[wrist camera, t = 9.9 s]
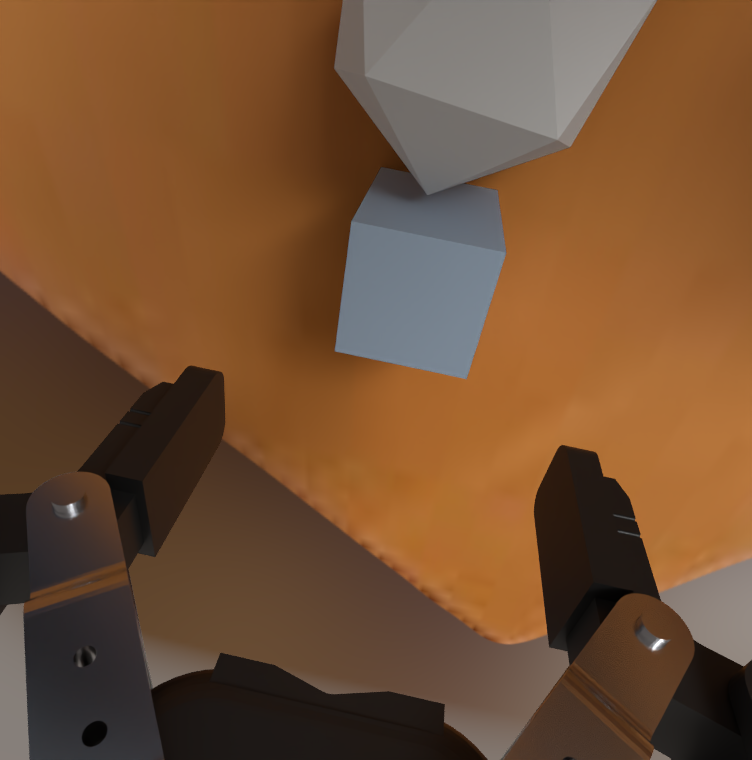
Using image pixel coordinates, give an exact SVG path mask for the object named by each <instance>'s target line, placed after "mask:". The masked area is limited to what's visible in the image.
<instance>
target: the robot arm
mask: <svg viewBox="0 0 752 760" xmlns="http://www.w3.org/2000/svg"><path fill="white" fill-rule="evenodd" d="M224 427H225V398H224V377H223V374H222V372H219V371H214V370H210V369H205V368H200V367H195V366H188V367H187V368H186V369H185V370H184V372H183V373H182V374H181V375H180V377H179V378H178V379H177V381H176V382H175V383H174V384H171V383H166V382H162V383H160V384H158V385H156V386H155V387H153V388H151V389H150V390H148V391H146V392H144V393H143V394H142V395H141V396H140V398H139V399H138V400H137V401H136V402H135V404H134V405H133V406H132V407H131V410H130V412H129V411H128V412H127V413H126V414H125V416H124V417H123V418H122V419H121V420H120V424H117V425H116V426H115V427H114V429H113V430H112V431H111V432H110V433H109V435H108V436H107V437H106V438H105V439H104V441H103V442H102V443H101V444H100V445H99V447H98V448H97V449H96V450H95V451H94V453H93V454H92V455H91V456H90V457H89V459H88V460H87V461H86V462H85V463H84V465H83V466H82V467H81V468H80V469H79V470H78V471H77V472H71V473H66V474H62V475H59V476H57V477H54V478H52V479H50V480H48V481H46V482H45V483H43V484H42V485H40V486H39V487H38V488H37V489H36V490H35V491H34V492H33V493H25V494H5V495H0V614H1V613H2V612H3V610H4V609H5V607H6V606H7V605H8V604H19V603H24V610H23V619H24V641H25V642H24V643H25V665H26V690H27V712H28V735H29V756H30V757H29V759H30V760H487V758H486V757H485V756H484V755H483V754H482V753H481V751H479V749H478V748H477V747H476V746H475V745H474V744H473V743H472V742H471V741H469V740H468V739H467V738H466V737H465V736H464V735H462V734H461V733H460V732H458V731H457V730H456V729H454V728H453V727H451V726H449V725H448V724H446V723H444V707H445V704H441V703H437V702H432V701H428V700H424V699H419V698H415V697H411V696H406V695H402V694H398V693H393V692H389V691H388V692H370V693H352V694H327V693H325V692H322V691H321V690H319V689H317V688H315V687H313V686H311V685H310V684H308V683H306V682H304V681H303V680H301V679H299V678H297V677H295V676H293V675H291V674H290V673H288V672H286V671H284V670H283V669H281V668H279V667H277V666H275V665H272V664H267V663H263V662H259V661H254V660H250V659H246V658H241V657H237V656H232V655H228V654H223V653H220V656H219V658H218V661H217V663H216V666H215V668H214V669H212V670H202V671H196V672H191V673H188V674H185V675H182V676H178V677H175V678H173V679H171V680H169V681H167V682H164V683H162V684H160V685H158V686H157V687H155V688H153V686H152V681H151V676H150V672H149V667H148V662H147V658H146V653H145V648H144V644H143V638H142V634H141V629H140V624H139V619H138V614H137V609H136V604H135V599H134V595H133V590H132V585H131V580H130V575H129V570H128V568H129V567H130V565H131V563H132V562H133V560H134V558H135V557H136V555H137V553H140V554H144V555H149V556H153V557H155V556H156V555H157V553H158V551H159V549H160V548H161V546H162V544H163V542H164V541H165V539H166V537H167V535H168V534H169V532H170V530H171V528H172V527H173V525H174V523H175V521H176V520H177V518H178V516H179V514H180V513H181V511H182V509H183V507H184V505H185V504H186V502H187V500H188V499H189V497H190V495H191V493H192V492H193V490H194V488H195V486H196V485H197V483H198V481H199V479H200V478H201V476H202V474H203V472H204V471H205V469H206V467H207V465H208V464H209V462H210V460H211V458H212V457H213V455H214V453H215V451H216V450H217V448H218V446H219V444H220V442H221V439H222V436H223V432H224ZM534 518H535V527H536V536H537V545H538V553H539V562H540V571H541V580H542V589H543V597H544V606H545V615H546V624H547V633H548V641H549V647H551V648H555V649H560V650H564V651H568V657H569V664H570V665H569V667H568V668H567V670H566V671H565V672H564V674H563V675H562V676H561V678H560V679H559V680H558V682H557V683H556V684H555V686H554V687H553V689H552V690H551V691H550V693H549V694H548V695H547V697H546V698H545V699H544V701H543V702H542V703H541V705H540V706H539V708H538V709H537V710H536V712H535V713H534V715H533V716H532V717H531V719H530V720H529V721H528V723H527V724H526V725H525V727H524V728H523V729H522V731H521V732H520V734H519V735H518V736H517V738H516V739H515V740H514V742H513V743H512V744H511V746H510V747H509V748H508V750H507V751H506V752H505V754H504V755H503V756H502V758H501V759H500V760H650V758H651V756H652V753H653V750H654V749H656V750H658V751H659V752H661V753H663V754H665V755H666V756H668V757H670V758H671V760H752V660H751V661H750V662H749V663H748V664H746V665H745V666H744V667H743V666H741V665H740V664H738V663H736V662H734V661H732V660H730V659H728V658H726V657H724V656H722V655H720V654H718V653H716V652H714V651H712V650H710V649H708V648H706V647H704V646H703V645H701V644H699V643H697V642H696V641H695V640H693V638H692V635H691V633H690V631H689V629H688V627H687V625H686V624H685V623H684V621H683V620H682V619H681V617H680V616H679V615H678V614H677V613H676V612H675V611H674V610H673V609H671V608H670V607H669V606H668V605H666V604H664V603H663V602H662V601H661V599H660V596H659V593H658V590H657V586H656V583H655V580H654V577H653V573H652V570H651V567H650V564H649V560H648V557H647V554H646V551H645V547H644V544H643V541H642V538H640V531H639V528H638V525H637V522H635V515H634V512H633V508H632V505H631V502H630V499H629V497H628V496H627V494H626V493H625V492H624V490H623V489H622V488H621V486H620V485H619V484H618V482H617V481H616V480H615V479H613V478H608V477H603V473H602V469H601V466H600V462H599V458H598V455H597V454H596V453H595V452H593V451H588V450H584V449H579V448H574V447H570V446H565V445H561V446H560V447H559V448H558V450H557V451H556V453H555V456H554V458H553V460H552V462H551V464H550V466H549V468H548V470H547V472H546V474H545V476H544V478H543V480H542V482H541V484H540V487H539V489H538V491H537V495H536V499H535V505H534Z"/></svg>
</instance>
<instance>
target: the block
mask: <svg viewBox="0 0 752 760" xmlns="http://www.w3.org/2000/svg"><path fill="white" fill-rule="evenodd" d="M505 255H506V248H505V240H504V233H503V226H502V219H501V212H500V205H499V198H498V191H497V190H494V189H489V188H484V187H479V186H474V185H469V184H464V183H462V184H459V185H456V186H454V187H451V188H448V189H445V190H442V191H439V192H436V193H433V194H430V195H427V194H426V193H425V191H424V190H423V189H422V187H421V186H420V184H419V183H418V182H417V180H416V179H415V178H414V176H413V175H412V174H411V173H409V172H404V171H399V170H394V169H389V168H384V167H381V168H380V170H379V172H378V174H377V176H376V177H375V179H374V181H373V183H372V185H371V187H370V188H369V190H368V192H367V194H366V196H365V197H364V199H363V201H362V203H361V205H360V207H359V208H358V210H357V212H356V214H355V216H354V218H353V219H352V221H351V229H350V236H349V244H348V252H347V260H346V268H345V275H344V283H343V291H342V299H341V307H340V314H339V322H338V330H337V338H336V346H335V351H336V352H341V353H346V354H350V355H355V356H360V357H365V358H369V359H374V360H379V361H384V362H388V363H393V364H398V365H403V366H407V367H412V368H417V369H422V370H426V371H431V372H436V373H441V374H445V375H450V376H455V377H460V378H464V379H467V376H468V373H469V370H470V366H471V363H472V360H473V357H474V354H475V350H476V347H477V344H478V341H479V338H480V335H481V331H482V328H483V325H484V322H485V319H486V315H487V312H488V309H489V306H490V303H491V300H492V296H493V293H494V290H495V287H496V284H497V280H498V277H499V274H500V271H501V268H502V265H503V261H504V258H505Z"/></svg>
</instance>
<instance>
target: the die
mask: <svg viewBox="0 0 752 760" xmlns="http://www.w3.org/2000/svg"><path fill="white" fill-rule="evenodd" d="M656 1H657V0H343V4H342V11H341V19H340V27H339V34H338V42H337V50H336V57H335V65H334V69H335V70H336V72H337V73H338V74H339V76H340V77H341V79H342V80H343V81H344V83H345V84H346V85H347V87H348V88H349V89H350V91H351V92H352V94H353V95H354V96H355V98H356V99H357V100H358V102H359V103H360V104H361V106H362V107H363V108H364V110H365V111H366V113H367V114H368V115H369V117H370V118H371V119H372V121H373V122H374V123H375V125H376V126H377V127H378V129H379V130H380V132H381V133H382V134H383V136H384V137H385V138H386V140H387V141H388V142H389V144H390V145H391V146H392V148H393V149H394V151H395V152H396V153H397V155H398V156H399V157H400V159H401V160H402V161H403V163H404V164H405V165H406V167H407V168H408V170H409V171H410V172H411V174H412V175H413V176H414V178H415V179H416V180H417V182H418V183H419V184H420V186H421V187H422V189H423V190H424V191H425V193H426V194H427V195H430V194H433V193H436V192H439V191H442V190H445V189H448V188H451V187H454V186H456V185H459V184H462V183H465V182H468V181H471V180H474V179H477V178H480V177H483V176H486V175H489V174H492V173H495V172H498V171H501V170H504V169H507V168H510V167H513V166H516V165H519V164H522V163H525V162H528V161H531V160H534V159H537V158H540V157H543V156H546V155H549V154H552V153H555V152H558V151H560V150H563V149H566V148H569V147H571V145H572V143H573V142H574V140H575V138H576V137H577V135H578V133H579V132H580V130H581V128H582V127H583V125H584V123H585V121H586V120H587V118H588V116H589V115H590V113H591V111H592V110H593V108H594V106H595V105H596V103H597V101H598V99H599V98H600V96H601V94H602V93H603V91H604V89H605V88H606V86H607V84H608V83H609V81H610V79H611V77H612V76H613V74H614V72H615V71H616V69H617V67H618V66H619V64H620V62H621V61H622V59H623V57H624V56H625V54H626V52H627V50H628V49H629V47H630V45H631V44H632V42H633V40H634V39H635V37H636V35H637V34H638V32H639V30H640V28H641V27H642V25H643V23H644V22H645V20H646V18H647V17H648V15H649V13H650V12H651V10H652V8H653V6H654V5H655V3H656Z"/></svg>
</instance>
